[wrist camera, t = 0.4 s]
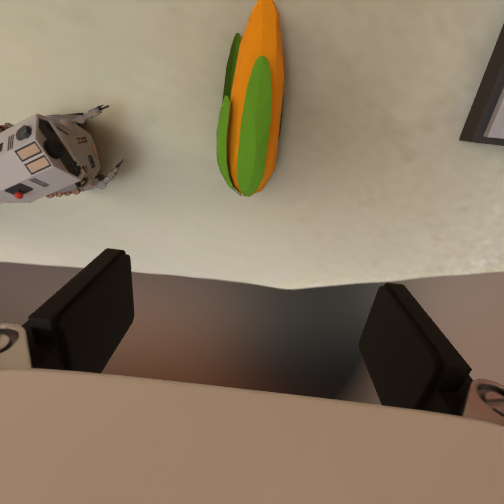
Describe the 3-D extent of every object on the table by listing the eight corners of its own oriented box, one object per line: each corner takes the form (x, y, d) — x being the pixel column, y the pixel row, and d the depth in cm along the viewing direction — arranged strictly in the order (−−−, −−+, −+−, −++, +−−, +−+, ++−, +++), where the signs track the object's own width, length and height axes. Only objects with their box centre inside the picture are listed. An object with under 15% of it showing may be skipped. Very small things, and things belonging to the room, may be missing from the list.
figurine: (147, 179, 40) (87, 213, 26) (67, 187, 41) (-30, 225, 27) (127, 105, 36) (46, 101, 23) (40, 116, 37) (-88, 118, 23)
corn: (210, 201, 33) (222, -33, 24) (215, 185, 40) (226, -2, 31) (275, 207, 34) (309, -19, 25) (269, 190, 40) (294, 9, 32)
